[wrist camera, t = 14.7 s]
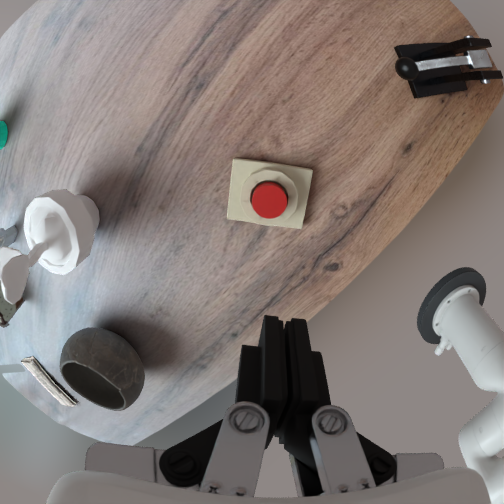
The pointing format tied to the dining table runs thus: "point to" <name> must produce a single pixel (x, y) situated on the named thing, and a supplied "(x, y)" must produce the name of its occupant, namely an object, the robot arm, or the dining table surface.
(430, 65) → the lever
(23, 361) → the newspaper
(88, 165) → the dining table surface
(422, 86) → the bracket
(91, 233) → the potted plant
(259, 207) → the button
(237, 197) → the button box
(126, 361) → the bowl
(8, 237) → the white flat branched piece
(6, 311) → the food container
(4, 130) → the candle
